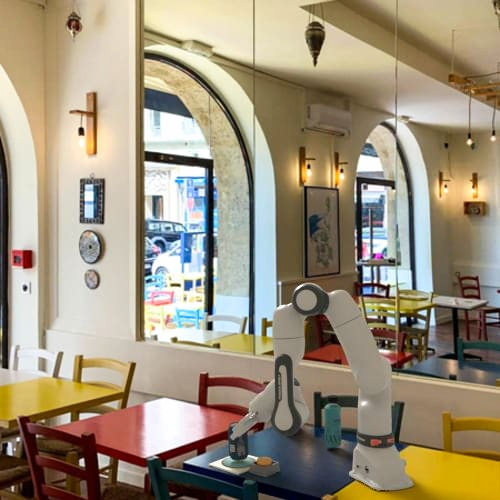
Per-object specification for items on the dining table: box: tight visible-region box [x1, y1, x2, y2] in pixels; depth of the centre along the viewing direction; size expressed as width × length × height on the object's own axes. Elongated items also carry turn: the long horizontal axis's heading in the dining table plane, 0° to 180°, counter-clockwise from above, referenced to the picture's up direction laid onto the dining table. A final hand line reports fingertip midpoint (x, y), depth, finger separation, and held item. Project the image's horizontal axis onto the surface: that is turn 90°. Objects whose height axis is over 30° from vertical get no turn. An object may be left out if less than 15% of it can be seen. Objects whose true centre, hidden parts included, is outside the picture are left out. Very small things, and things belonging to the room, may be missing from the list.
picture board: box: [208, 454, 259, 476], centre depth 222 cm, size 14×16×1 cm
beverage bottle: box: [323, 394, 343, 448], centre depth 237 cm, size 6×7×20 cm
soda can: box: [227, 421, 250, 461], centre depth 223 cm, size 7×7×12 cm
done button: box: [257, 456, 273, 467], centre depth 214 cm, size 5×5×2 cm
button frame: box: [248, 459, 281, 478], centre depth 214 cm, size 8×8×3 cm
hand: (235, 434), depth 222 cm, fingers closed on soda can, 6 cm apart
